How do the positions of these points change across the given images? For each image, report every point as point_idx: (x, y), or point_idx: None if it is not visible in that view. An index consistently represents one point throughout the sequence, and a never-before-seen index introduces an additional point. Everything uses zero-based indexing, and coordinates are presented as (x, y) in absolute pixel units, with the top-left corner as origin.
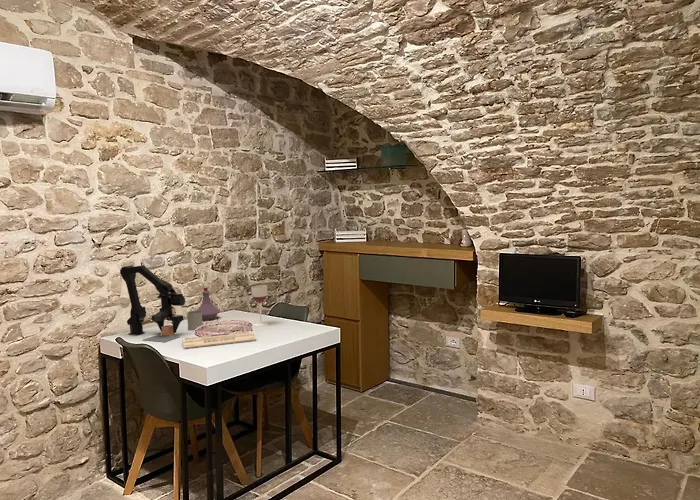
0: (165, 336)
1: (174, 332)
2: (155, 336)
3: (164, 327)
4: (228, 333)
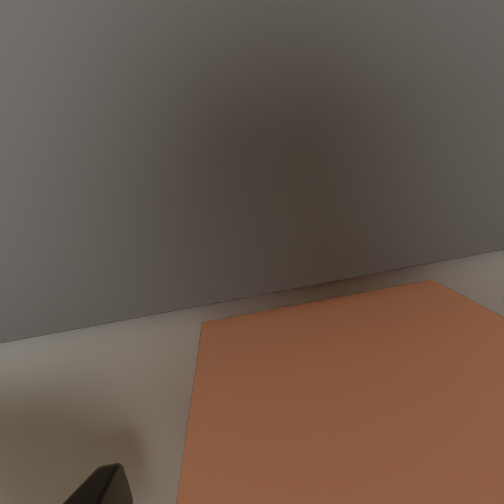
0: (170, 195)
1: (79, 488)
2: (466, 49)
3: (487, 482)
4: None
